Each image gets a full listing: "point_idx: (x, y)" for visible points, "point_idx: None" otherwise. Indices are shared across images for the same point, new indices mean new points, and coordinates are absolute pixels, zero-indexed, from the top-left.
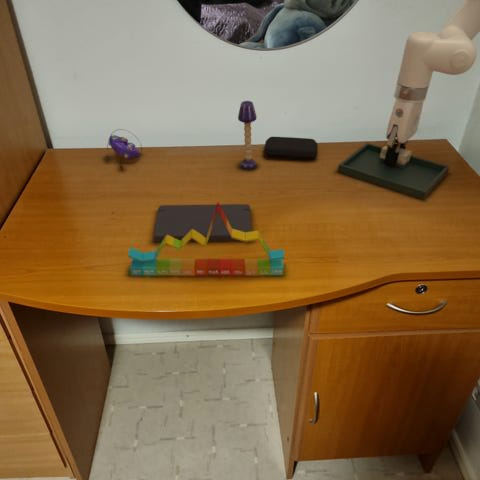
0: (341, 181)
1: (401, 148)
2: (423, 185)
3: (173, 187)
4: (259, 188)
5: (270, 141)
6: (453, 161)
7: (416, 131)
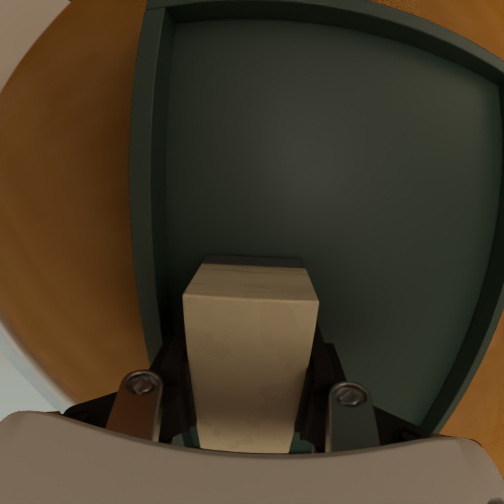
0: (468, 395)
1: (193, 378)
2: (428, 82)
3: None
4: (492, 448)
5: None
6: (27, 78)
7: (23, 413)
